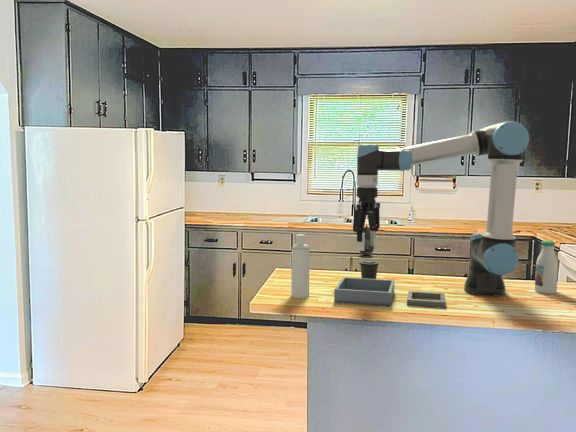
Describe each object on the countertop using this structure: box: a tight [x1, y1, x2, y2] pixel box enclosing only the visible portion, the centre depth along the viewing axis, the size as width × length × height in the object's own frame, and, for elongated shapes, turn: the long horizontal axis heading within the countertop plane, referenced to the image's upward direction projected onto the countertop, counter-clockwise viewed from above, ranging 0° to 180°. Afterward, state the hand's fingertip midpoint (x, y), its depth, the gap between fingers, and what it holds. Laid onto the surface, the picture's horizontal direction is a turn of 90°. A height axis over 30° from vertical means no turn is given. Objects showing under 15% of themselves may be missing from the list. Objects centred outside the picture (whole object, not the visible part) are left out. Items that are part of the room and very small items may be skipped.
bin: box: [333, 276, 395, 308], centre depth 199 cm, size 20×20×5 cm
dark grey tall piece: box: [358, 224, 374, 259], centre depth 197 cm, size 6×6×12 cm
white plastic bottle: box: [291, 233, 310, 299], centre depth 200 cm, size 7×7×25 cm
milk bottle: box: [534, 240, 559, 295], centre depth 207 cm, size 8×8×20 cm
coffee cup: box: [358, 259, 380, 279], centre depth 219 cm, size 8×8×10 cm
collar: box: [406, 290, 446, 309], centre depth 194 cm, size 13×13×2 cm
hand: (366, 249), depth 198 cm, fingers closed on dark grey tall piece, 6 cm apart
